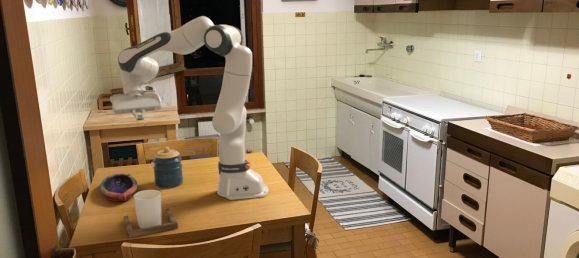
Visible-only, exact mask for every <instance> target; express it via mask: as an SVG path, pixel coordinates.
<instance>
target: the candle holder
mask: <svg viewBox="0 0 579 258" xmlns="http://www.w3.org/2000/svg"><path fill="white" fill-rule="evenodd" d="M132 197H133V202H134V209H135V214H136V215H135V216H136V219H137V220H136V221H137V226H138V229H142V228H147V227H152V226H157V225H162V224H163V223H162V221H163V218H162V192H161V191H160V190H158V189H145V190H140V191H138V192H136V193H135V194H134V195H133V196H132Z"/></svg>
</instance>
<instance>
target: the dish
mask: <svg viewBox="0 0 579 258" xmlns="http://www.w3.org/2000/svg"><path fill="white" fill-rule="evenodd" d="M137 189H138V181H137V180H136V179H135V177H133V175H131V174H130V173H114V174H111V175H108V176H107V177H105V178H104V179H102V181H101V182H100V185H99V190H100V192H101V194H102V196H103V197H104V198H105V199H107V200H109V201H113V202H126V201H129V200H130V199H131V198H132V197H133V196H134V194H136V193H137Z"/></svg>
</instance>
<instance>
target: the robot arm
mask: <svg viewBox="0 0 579 258" xmlns="http://www.w3.org/2000/svg"><path fill="white" fill-rule="evenodd" d="M243 35H244V34H243V33H242V31H241V30H240V29H239V28H238V27H236V26H233V25H228V24H216V25H215V24H214V22H213V21H212V20H211V19H210V18H209V17H207V16H205V15H201V16H198V17H196V18H194V19H192V20H190V21H188V22H186V23H185V24H183V25H182V26H180V27H179V28H176V29H172V30H170V31H165V32H160V33H158V34H155V35H154V36H151V37H149V38H148V39H146V40H144V41H142V42H140V43H138V44H136V45H134V46H130V47H127V48H125V49H123V50H122V51H121V52H120V53H119V55H118V58H117V62H118V66H119V69H120V70H119V72H120V73H119V74H120V79H121V80H120V81H121V83H122V93H119V94H118V93H117V94H116V93H115V94H113V95H110V97H109V102H110V103H111V105H112V107H111V108H112V114H114V115H125V114H132V116H133V117H134V118H135V119H136V121H143V120H144V119H145V118H144V117H145V114H146V112H154V111H155V112H157V111H161V110H162V108H163V102H162V100H161V97H160V95H159V93H158V92H157V90H156V87H155V86H153V85H146V84H147V83H149V82H151V81H153V80H155V79H156V78H157V77H158V75H159V73H160V64H159V62H158V61H157V60H155V59H154V58H151V57H150V56H151V55H153V54H155V53H156V52H160V51H161V52H171V53H175V54H178V55H182V56H183V55H188V54H192V53H193V52H194V53H195V51H196V50H198V49H200V48H201V47H203V46H204V45H205V46H206V48H208V50H210V51H212V52H213V53H215V54H217V55H219V56H221V57H224V58H225V64H224V65H225V66H224V71H223V77H222V84H221V89H220V92H219V95H218V96H219V97H218V100H217V103H216V106H215V111H214V114H213V116H212V119H211V120H212V121H211V124H212V127H213V129H214V131H215V132H217V133H219V134H220V135H219V139H218V140H219V141H218V163H217V166H218V167H217V168H218V169H217V170H218V175H219V178H218V179H219V180H218V187H217V191H216V192H217V193H216V194H217V195H218V196H219V197H223V198H226V199H227V200H231V201H235V200H244V199H253V198H254V199H255V198H264V197H266V196H268V194H269V186H268V185H267V184H266V183H264V181H263V177H262V175H260V173H258V172H256V171H254V170H253V169H252V168H251V162H250V160H247V159H246V152H245V151H246V150H245V147H246V146H245V139H246V129H247V128H246V127H247V115H248V114H247V113H248V111H247V108H246V106H245V103H246V99H247V97H248V94H249V89H250V83H251V78H252V72H253V52H252V50H251V49H250V48H249V47H248V46H245V45H242V44H243V43H244V42H243V41H244V36H243ZM137 113H141V114H137Z"/></svg>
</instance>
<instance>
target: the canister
mask: <svg viewBox="0 0 579 258" xmlns="http://www.w3.org/2000/svg"><path fill="white" fill-rule="evenodd" d="M153 156H154V158H153V159H152V162H153V167H152V168H153V177H154V180H153V181H154V184H155V185H154V186H155V187H157V188H160V189H161V188H162V189H171V188H176V187H180V185H182V184H183V182H184V175H183V164H182V160H183V158H182V156H181V155H180V152H179V151H177V150H175V149H170V147H168V146H165V147H163V149H162V150H159V151H157V152H156V153H154V154H153Z"/></svg>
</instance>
